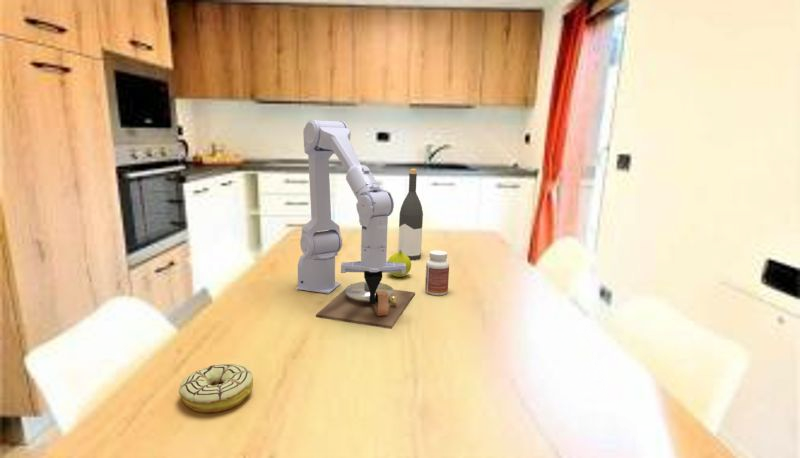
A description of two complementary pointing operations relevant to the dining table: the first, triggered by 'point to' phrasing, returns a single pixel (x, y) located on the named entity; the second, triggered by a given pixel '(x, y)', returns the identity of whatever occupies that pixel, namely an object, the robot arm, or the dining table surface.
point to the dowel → (393, 301)
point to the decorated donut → (216, 387)
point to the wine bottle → (411, 222)
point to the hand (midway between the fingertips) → (372, 302)
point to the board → (365, 310)
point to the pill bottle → (437, 273)
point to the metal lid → (363, 295)
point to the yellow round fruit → (400, 258)
